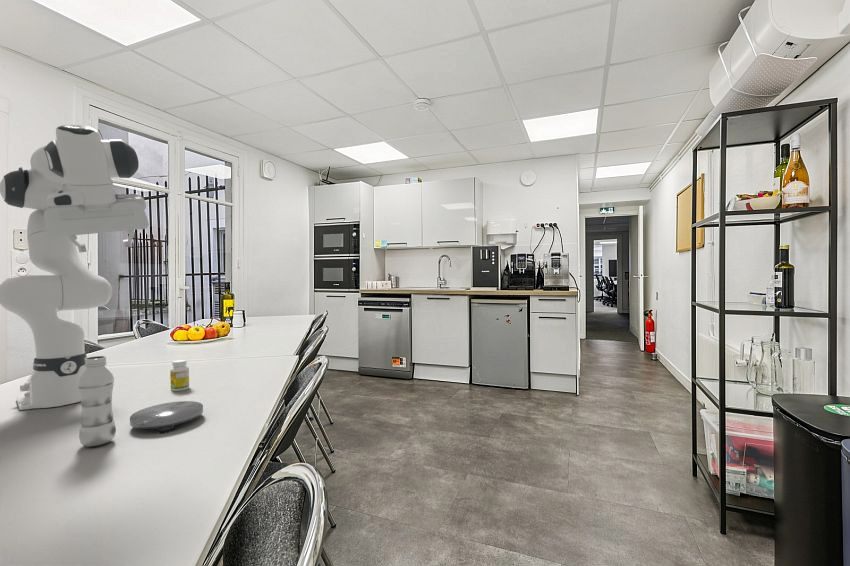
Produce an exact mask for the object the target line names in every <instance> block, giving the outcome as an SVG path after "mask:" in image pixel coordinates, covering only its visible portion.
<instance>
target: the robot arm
mask: <svg viewBox="0 0 850 566" xmlns="http://www.w3.org/2000/svg"><path fill="white" fill-rule="evenodd" d="M55 135H56V137H55V138H56V139H55V140H54V139H53V140H50V142H49V143H47V145H43V146H41V147H39V148H37V149H36V150H35V151H34V152H33V153H32V154H31V156H30V169H23V167H18V170H13V171H10V172H8V173H6V174H4V175H3V177H2V179H1V180H0V195H1V198H3V201H4V202H5V203H6V204H7V205H8V206H12V207H16V208H20V209H23V208H25V209H26V208H27V209H33V210H34V211H32V212H31V213H30V214H29V217H28V221H27V228H26V235H27V246H28V247H27V248H28V254H29V255H28V256H29V260H30V262H31V263H32V264H33V265H34V266H35V267H36V268H37V269H40V270H42V271H45V272H48V273H50V275H49V274H46V275H45V274H43V275H41V274H40V275H39V274H38V275H34V274H33V275H30V274H29V275H22V276H21V275H20V276H15V277H8V278H6V279H4V281H2V283H0V306H1V307H2V308H4V309H6V310H7V311H9V312H10V313H13V314H14V315H17V316H18V317H20V318H21V319H22V320H24V321H25V323H26V324H28V326H29V327H30V329H31V332H32V334H33V335H32V336H33V340H34V347H35V348H34V349H35V358H34V359H33V363H32V366H33V367H32V370H33V372H32V373H31V374H30V375H29V378H28V379H27V380H26V382H24V383H20V385H19V390H20V392H21V393H22V392H24V394H22V395H18V396H17V397H16V403H17V406H18V410H20V411H21V410H22V411H23V410H30V409H47V408H54V407H55V408H57V407H62V406H67V405H71V404H77V403H81V398H80V394H79V390H78V384H77V383H78V380H79V378H80V376H81V375H82V374H83V372H84V371H85V370H86V368H87V367H85V359H86V358H88V356H87V352H86V351H85V332H84V329H83V327H81V326H80V325H79V324H77V323H73V322H71V321H68V320H64V319H61V318H59V317H58V312H60V311H61V312H62V311H76V310H89V309H96V308H99V307H103V306H106V305H107V304H109V302H110V301H111V298H112V296H113V287H112V284H111V283H110V282H109V281H108V279H106V278H105V277H103V276H101V275H99V274H96V273H94V272H93V271H91V269H89V268H88V267H86V265H85V264H84V263H83V262H82V260H81V259H80V257H79V256H80V255H79V254H78V253H87V252H88V250H87V248H86V244H85V243H84V244H83V243H80V242H79V241H78V238H77V236H80V235H81V236H82V235H90V234H91V235H92V234H94V235H95V234H102V233H103V234H104V233H114V232H125V231H126V233H127V234H128V236H127V238H126V239H123V243H124V244H123V245H124V248H132V247H133V243H132V240H133V238H134V236H135V233H136V232H135V230H146V229H147V228H148V227H149V225H150V224H149V219H148V216H147V214H146V211H145V210H146V208H147V204H146V200H145V198H144V197H143V196H141V195H140V194H139V195H138V194H137V193H130V194H126V193H125V194H124V193H121V194H116V192H115V188H114V182H113V178H117V179H130V178H132V177H133V176H134V175H135V174H136V173H137V171H138V170H139V165H140V163H139V157H138V155H137V152H136V150H135V149H134V148H133V147H132V146H131V145H130V144H128V143H127V142H126V141H124V140H123V139H109V140H108V139H102V138H101V136H100V134H99V131H97V130H96V129H94V128H93V127H91V126H84V125H77V124H64V125H59V126H57V127H56V128H55ZM51 274H52V275H51Z"/></svg>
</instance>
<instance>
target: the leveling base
mask: <svg viewBox="0 0 850 566" xmlns="http://www.w3.org/2000/svg"><path fill="white" fill-rule="evenodd" d="M203 413H204V406H203V403H201V402H198V401H192V400H182V401H181V400H180V401H179V400H178V401H173V402H165V403H159V404H156V405H152V406H148V407H144V408H143V409H140V410H138V411H136V412H134V413H132V414H131V415H130V417H129V425H130V426H131V428H134V429H139V430H140V429H141V430H146V429H147V430H149V429H150V430H151V429H153V430H154V429H157V433H158V432H159V433H158V434H166V433H165V432H167V433H170V432H169V431H171V432H173V431H174V430H175V429H176V425H181V424H184V423H187V422H190V421H193V420H195V419H196V418H198V417H200V416H202V415H203ZM172 430H173V431H172Z"/></svg>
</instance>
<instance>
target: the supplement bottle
mask: <svg viewBox="0 0 850 566" xmlns="http://www.w3.org/2000/svg"><path fill="white" fill-rule="evenodd" d="M171 363H172V365H171V366H173V367H171V368H170V371H169V373H170V377H169V378H170V390H171V391H172V392H182V391H187V390H188V389H189V388H190V368H189V366H187V365H188V364H187V360H185V359H178V360H173V361H172V362H171Z"/></svg>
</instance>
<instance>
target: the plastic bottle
mask: <svg viewBox="0 0 850 566" xmlns="http://www.w3.org/2000/svg"><path fill="white" fill-rule="evenodd" d="M106 365H107V357H106V356H105V355H95V356H89V357H87V358H86V359H85V367H87V368H86V370H85V371H84V372H83V374H82V375H81V376H80V378H79V380H78V383H77V384H78V390H79V394H80V398H81V401H80V405H81V421H80V427H79V433H78V439H79V442H80V444H81V445H82V446H83V447H89V448H90V447H99V446H102V445H106V444H108V443H110V442H112V441H113V439H114V438H115V437H116V432H117V427H116V423H115V420H114V414H113V407H112V406H113V402H112V401H113V390H114V385H115V384H114V383H115V377H114V375H113V373H112V372H111V371H110V370H109V369H108V368H107V367H106Z"/></svg>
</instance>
